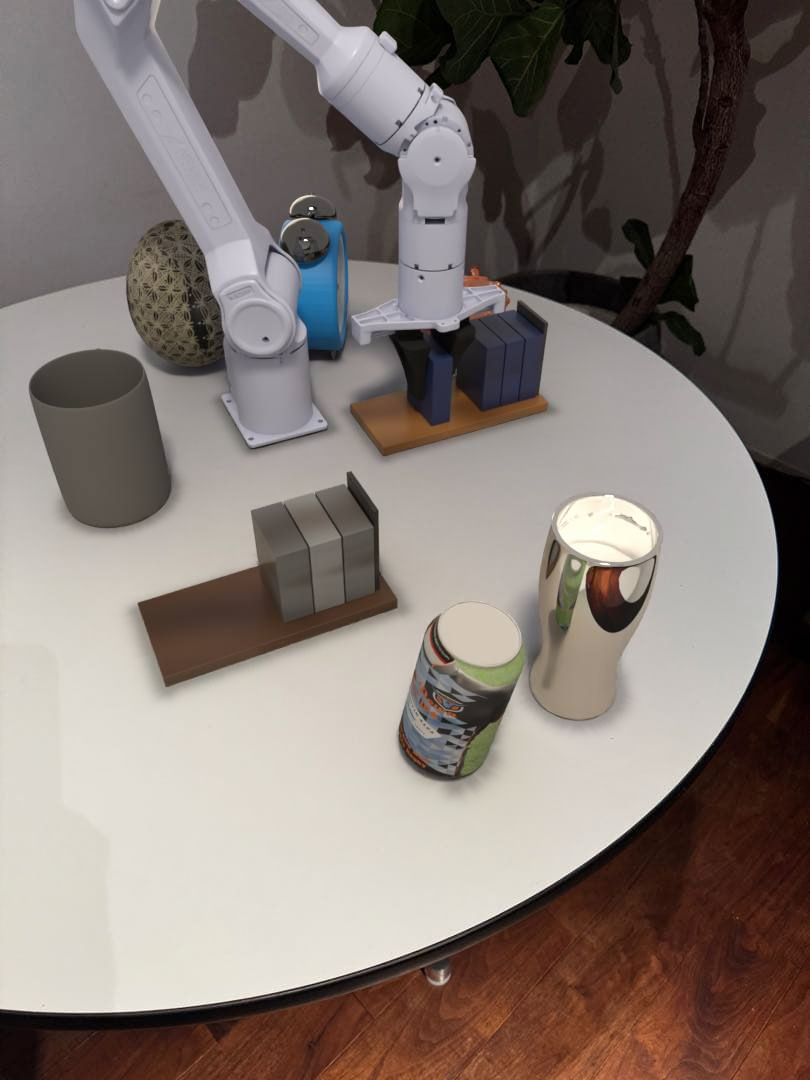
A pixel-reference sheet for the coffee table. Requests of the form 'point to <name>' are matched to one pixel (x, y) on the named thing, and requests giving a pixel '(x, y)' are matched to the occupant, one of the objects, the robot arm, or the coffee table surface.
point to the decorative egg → (174, 297)
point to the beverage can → (461, 688)
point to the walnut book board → (234, 623)
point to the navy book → (436, 385)
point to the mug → (101, 436)
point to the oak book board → (416, 429)
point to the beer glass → (592, 599)
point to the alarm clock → (319, 270)
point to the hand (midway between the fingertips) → (427, 392)
